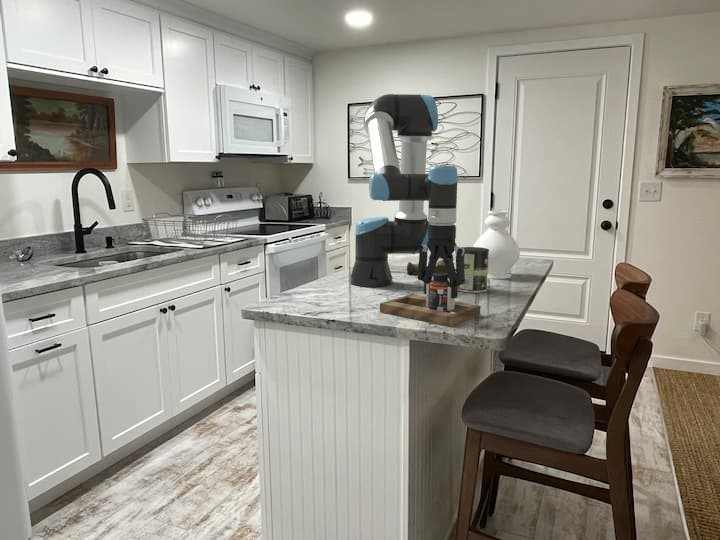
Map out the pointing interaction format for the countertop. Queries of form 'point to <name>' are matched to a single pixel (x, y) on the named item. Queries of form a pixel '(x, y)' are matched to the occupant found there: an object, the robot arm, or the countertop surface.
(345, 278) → the countertop surface
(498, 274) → the decorative vase
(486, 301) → the countertop surface
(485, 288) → the coffee can
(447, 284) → the supplement bottle
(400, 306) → the brown wooden picture frame
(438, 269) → the kendama
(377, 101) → the robot arm
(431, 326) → the countertop surface
